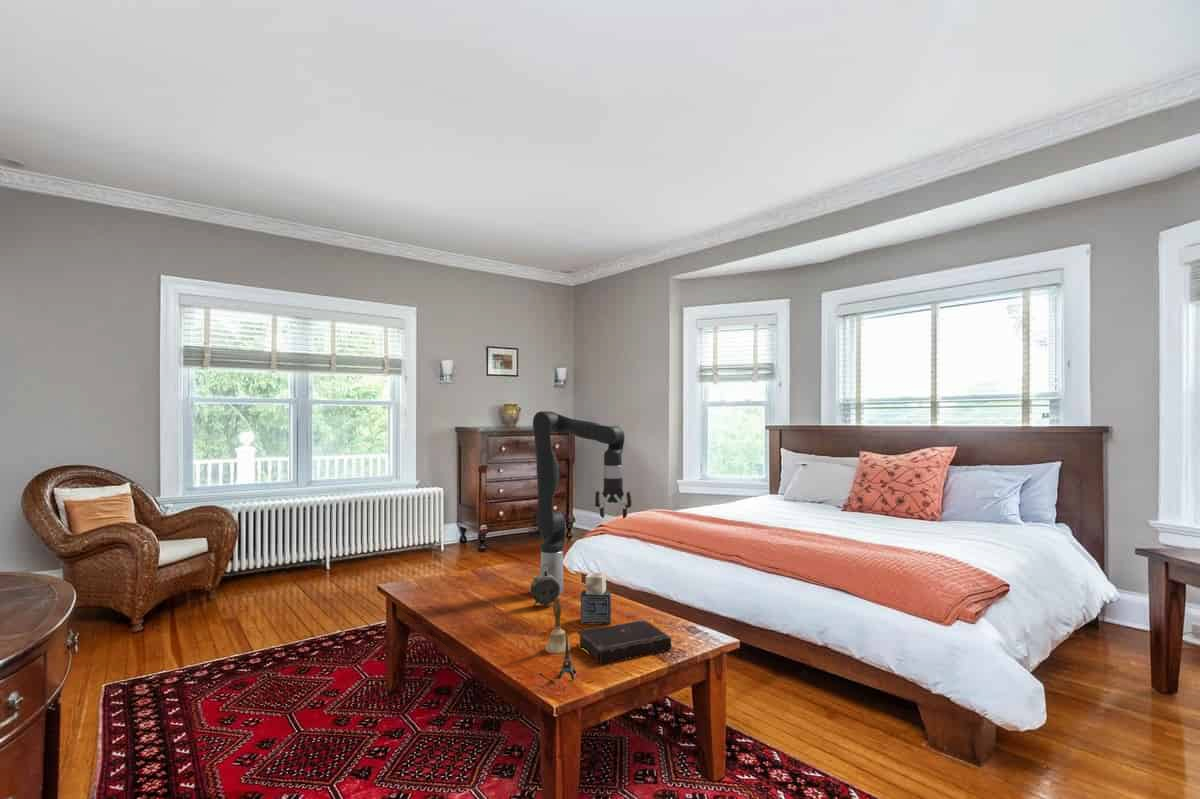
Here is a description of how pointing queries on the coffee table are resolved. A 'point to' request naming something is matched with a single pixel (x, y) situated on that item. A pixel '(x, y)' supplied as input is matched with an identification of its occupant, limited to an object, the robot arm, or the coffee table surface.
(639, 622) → the diary
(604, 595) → the small box
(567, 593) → the coffee table surface
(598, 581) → the birch cube
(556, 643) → the hand bell
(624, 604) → the coffee table surface
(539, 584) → the alarm clock
